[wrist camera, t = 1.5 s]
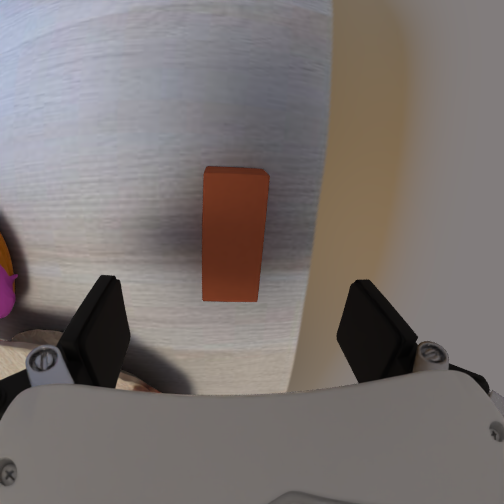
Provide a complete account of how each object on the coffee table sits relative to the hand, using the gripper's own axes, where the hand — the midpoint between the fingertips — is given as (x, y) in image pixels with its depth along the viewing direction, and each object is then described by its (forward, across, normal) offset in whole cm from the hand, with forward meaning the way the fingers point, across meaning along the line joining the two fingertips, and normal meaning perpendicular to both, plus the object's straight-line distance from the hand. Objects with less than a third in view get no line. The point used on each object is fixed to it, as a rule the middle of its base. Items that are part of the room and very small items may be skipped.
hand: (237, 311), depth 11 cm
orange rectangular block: (+8, 0, 0) cm, 8 cm away
